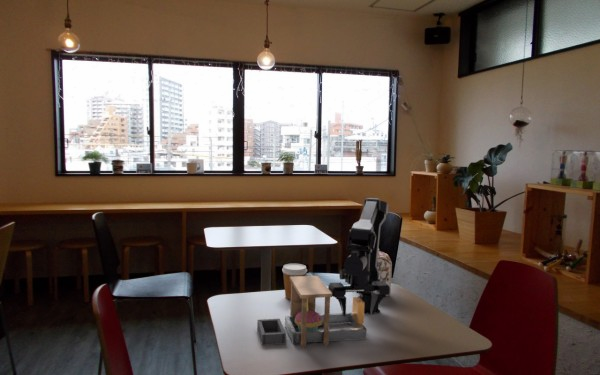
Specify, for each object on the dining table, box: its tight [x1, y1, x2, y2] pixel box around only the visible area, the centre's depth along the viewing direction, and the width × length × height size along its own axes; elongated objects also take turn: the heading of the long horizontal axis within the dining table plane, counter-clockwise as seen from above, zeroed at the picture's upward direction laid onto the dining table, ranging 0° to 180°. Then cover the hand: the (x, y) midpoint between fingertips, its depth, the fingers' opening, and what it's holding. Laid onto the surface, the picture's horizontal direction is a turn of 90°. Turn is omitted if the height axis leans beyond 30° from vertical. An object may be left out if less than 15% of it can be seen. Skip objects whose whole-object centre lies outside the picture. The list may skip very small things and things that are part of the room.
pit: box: [256, 318, 287, 346], centre depth 130 cm, size 7×11×3 cm, turn 12°
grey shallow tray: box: [284, 296, 368, 344], centre depth 133 cm, size 23×13×10 cm, turn 102°
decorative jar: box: [358, 248, 393, 297], centre depth 172 cm, size 12×12×18 cm
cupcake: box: [295, 298, 323, 332], centre depth 132 cm, size 9×8×12 cm
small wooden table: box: [289, 275, 333, 348], centre depth 132 cm, size 9×17×16 cm, turn 12°
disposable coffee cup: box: [281, 263, 308, 301], centre depth 164 cm, size 10×10×12 cm
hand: (357, 315), depth 136 cm, fingers open, 9 cm apart
